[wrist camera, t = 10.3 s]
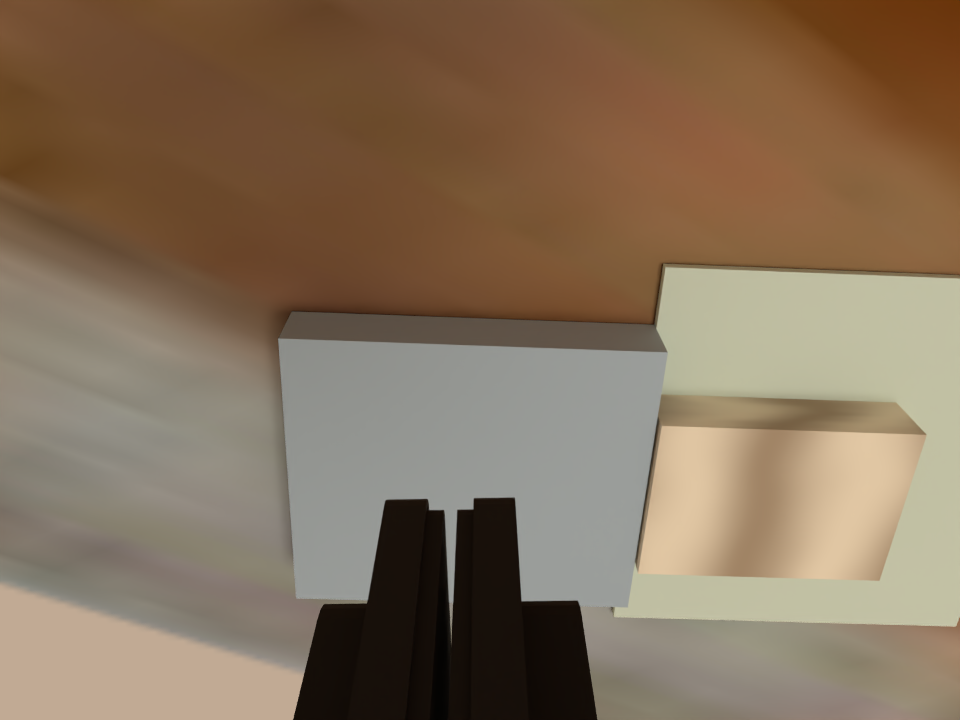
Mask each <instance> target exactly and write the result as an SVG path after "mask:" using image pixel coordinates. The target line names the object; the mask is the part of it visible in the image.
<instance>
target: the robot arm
mask: <svg viewBox="0 0 960 720" xmlns="http://www.w3.org/2000/svg"><path fill="white" fill-rule="evenodd" d="M293 720H597V715H596V708H595V702H594V695H593V688H592V682H591V675H590V668H589V662H588V655H587V648H586V642H585V635H584V628H583V622H582V615H581V610H580V605H579V602H578V600H573V601H522V599H521V583H520V567H519V551H518V535H517V519H516V503H515V497H511V498H474V503H473V509H466V510H457V525H456V548H455V572H454V596H453V619H452V643H451V631H450V610H449V590H448V569H447V548H446V528H445V512H444V510H429V502H428V499H389V500H386V501H385V504H384V509H383V515H382V520H381V526H380V532H379V538H378V544H377V549H376V555H375V561H374V567H373V572H372V578H371V584H370V590H369V596H368V601H367V604H324V605H323V606H322V608H321V610H320V613H319V616H318V620H317V624H316V628H315V632H314V636H313V640H312V644H311V648H310V653H309V657H308V661H307V665H306V669H305V673H304V677H303V682H302V685H301V690H300V694H299V698H298V702H297V706H296V711H295V714H294V719H293Z"/></svg>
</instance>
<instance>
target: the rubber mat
mask: <svg viewBox="0 0 960 720" xmlns="http://www.w3.org/2000/svg"><path fill="white" fill-rule="evenodd" d="M654 325H655V327H656V329H657V331H658V333H659V335H660V337H661V339H662V341H663V343H664V346H665V348H666V350H667V352H668V355H667V361H666V368H665V374H664V380H663V387H662V393H661V394H665V395H694V396H722V397H751V398H780V399H809V400H838V401H866V402H895V403H897V404H898V405H899V406H900V407H901V408H902V409H903V410H904V411H905V412H906V413H907V414H908V415H909V416H910V418H911V419H912V420H913V421H914V422H915V423H916V424H917V425H918V426H919V427H920V428H921V429H922V430H923V431H924V432H925V433H926V435H927V436H926V439H925V442H924V445H923V448H922V451H921V454H920V457H919V461H918V464H917V467H916V470H915V473H914V476H913V479H912V482H911V485H910V488H909V491H908V494H907V498H906V501H905V504H904V507H903V510H902V513H901V516H900V519H899V522H898V525H897V528H896V531H895V535H894V538H893V541H892V544H891V547H890V550H889V553H888V556H887V559H886V562H885V565H884V568H883V572H882V575H881V578H880V581H869V580H835V579H800V578H766V577H731V576H697V575H663V574H638V572H637V568H636V564H635V565H634V571H633V577H632V584H631V590H630V596H629V603H628V607H613V609H612V612H613V617H632V618H668V619H705V620H741V621H778V622H814V623H850V624H887V625H923V626H956V625H957V622H958V620H959V617H960V275H945V274H920V273H894V272H868V271H842V270H816V269H790V268H764V267H738V266H712V265H686V264H663V269H662V276H661V283H660V290H659V296H658V303H657V310H656V317H655V324H654Z"/></svg>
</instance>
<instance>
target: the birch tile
mask: <svg viewBox="0 0 960 720" xmlns="http://www.w3.org/2000/svg"><path fill="white" fill-rule="evenodd" d="M926 436H927V435H926V433H925V432H924V431H923V430H922V429H921V428H920V427H919V426H918V425H917V424H916V423H915V422H914V421H913V420H912V419H911V418H910V416H909V415H908V414H907V413H906V412H905V411H904V410H903V409H902V408H901V407H900V406H899V405H898V404H897V403H895V402H866V401H838V400H809V399H780V398H751V397H722V396H694V395H665V394H661V399H660V406H659V412H658V418H657V425H656V431H655V438H654V444H653V450H652V457H651V463H650V469H649V476H648V482H647V488H646V495H645V501H644V507H643V514H642V520H641V526H640V533H639V539H638V546H637V552H636V558H635V564H636V568H637V572H638V574H663V575H697V576H731V577H766V578H800V579H835V580H869V581H880V578H881V575H882V572H883V568H884V565H885V562H886V559H887V556H888V553H889V550H890V547H891V544H892V541H893V538H894V535H895V531H896V528H897V525H898V522H899V519H900V516H901V513H902V510H903V507H904V504H905V501H906V498H907V494H908V491H909V488H910V485H911V482H912V479H913V476H914V473H915V470H916V467H917V464H918V461H919V457H920V454H921V451H922V448H923V445H924V442H925V439H926Z"/></svg>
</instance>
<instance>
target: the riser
mask: <svg viewBox="0 0 960 720" xmlns="http://www.w3.org/2000/svg"><path fill="white" fill-rule="evenodd" d="M278 343H279V357H280V371H281V386H282V400H283V415H284V429H285V444H286V458H287V472H288V487H289V501H290V516H291V530H292V545H293V559H294V574H295V588H296V598H304V599H340V600H368V596H369V590H370V584H371V578H372V572H373V567H374V561H375V555H376V549H377V544H378V538H379V532H380V526H381V520H382V515H383V509H384V504H385V501H386V500H389V499H428V502H429V510H444V512H445V528H446V548H447V569H448V590H449V603H453V596H454V572H455V548H456V525H457V510H466V509H473V503H474V498H511V497H515V503H516V519H517V535H518V551H519V567H520V583H521V599H522V601H573V600H578V602H579V605H580V606H592V607H628V603H629V596H630V590H631V584H632V577H633V571H634V565H635V558H636V552H637V546H638V539H639V533H640V526H641V520H642V514H643V507H644V501H645V495H646V488H647V482H648V476H649V469H650V463H651V457H652V450H653V444H654V438H655V431H656V425H657V418H658V412H659V406H660V399H661V393H662V387H663V380H664V374H665V368H666V361H667V355H668V352H667V350H666V348H665V346H664V343H663V341H662V339H661V337H660V335H659V333H658V331H657V329H656V327H655V325H649V324H621V323H594V322H567V321H540V320H512V319H485V318H458V317H430V316H403V315H376V314H349V313H321V312H294V311H292V312H291V314H290V316H289V318H288V320H287V322H286V324H285V326H284V328H283V330H282V332H281V334H280V336H279V338H278Z"/></svg>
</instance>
